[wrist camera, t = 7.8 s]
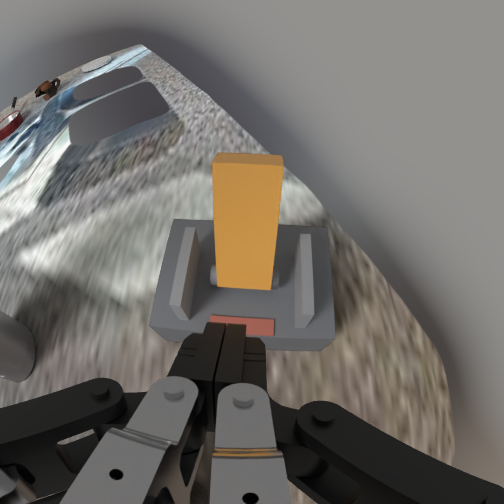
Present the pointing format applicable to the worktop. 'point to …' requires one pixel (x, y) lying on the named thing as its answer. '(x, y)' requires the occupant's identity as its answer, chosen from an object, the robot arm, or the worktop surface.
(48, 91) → the brown arched piece
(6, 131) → the frying pan
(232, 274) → the lever
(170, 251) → the switch box
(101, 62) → the plastic lid
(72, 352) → the worktop surface
